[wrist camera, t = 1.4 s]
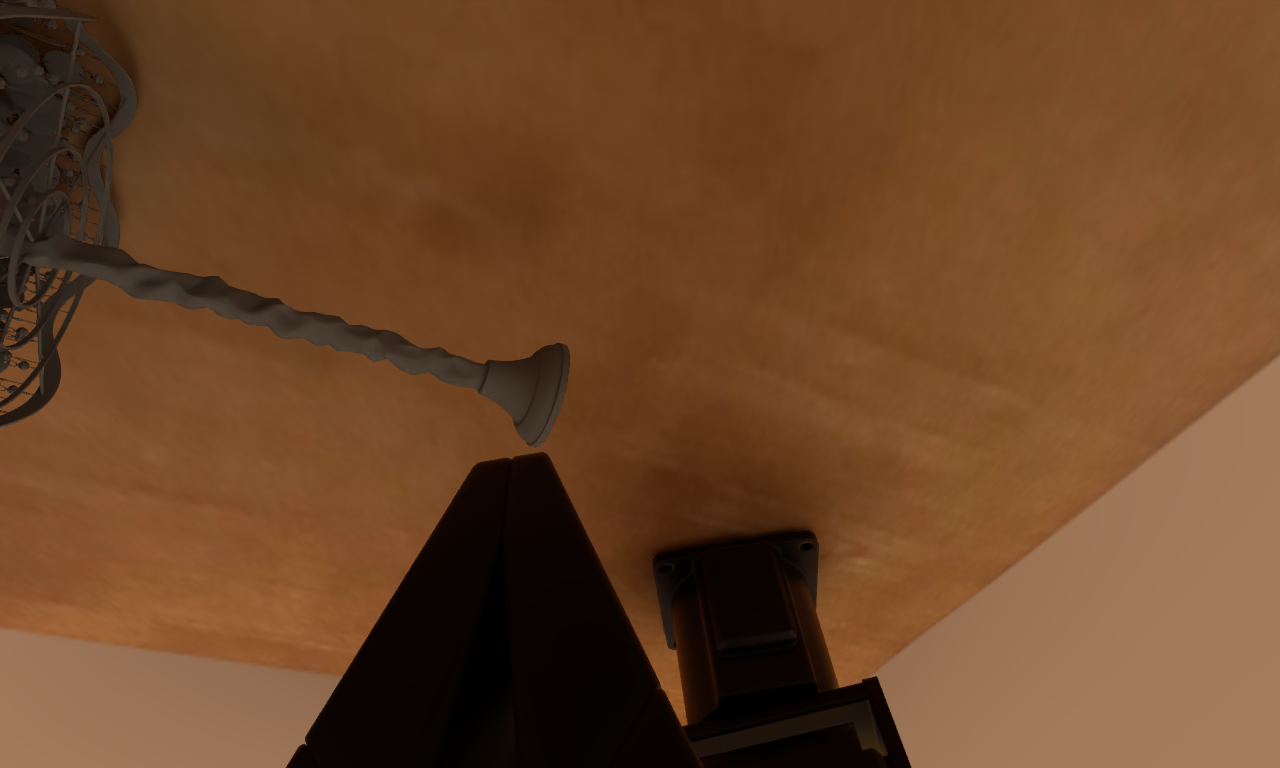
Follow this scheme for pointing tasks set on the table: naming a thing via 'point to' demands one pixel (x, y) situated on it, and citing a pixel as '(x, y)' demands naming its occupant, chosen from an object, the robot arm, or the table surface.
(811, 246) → the table surface
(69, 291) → the massage brush
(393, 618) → the robot arm
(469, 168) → the table surface
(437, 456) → the table surface
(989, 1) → the table surface
